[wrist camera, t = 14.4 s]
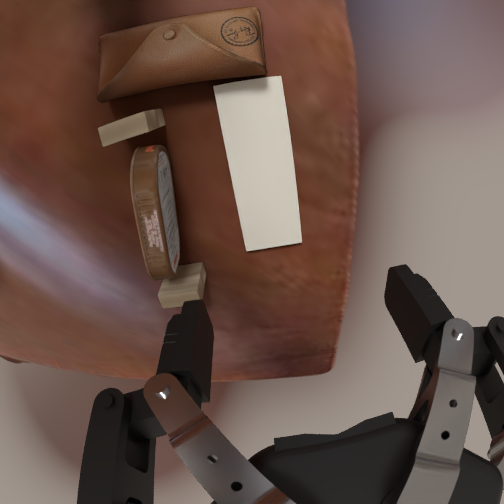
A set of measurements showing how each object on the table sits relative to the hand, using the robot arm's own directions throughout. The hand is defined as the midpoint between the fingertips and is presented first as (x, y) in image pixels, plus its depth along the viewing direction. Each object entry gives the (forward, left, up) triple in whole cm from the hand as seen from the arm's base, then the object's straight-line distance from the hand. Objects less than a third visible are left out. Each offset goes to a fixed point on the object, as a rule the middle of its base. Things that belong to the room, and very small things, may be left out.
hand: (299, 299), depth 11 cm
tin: (+2, -12, -22) cm, 25 cm away
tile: (0, 0, -22) cm, 22 cm away
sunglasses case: (-17, -6, -23) cm, 29 cm away
